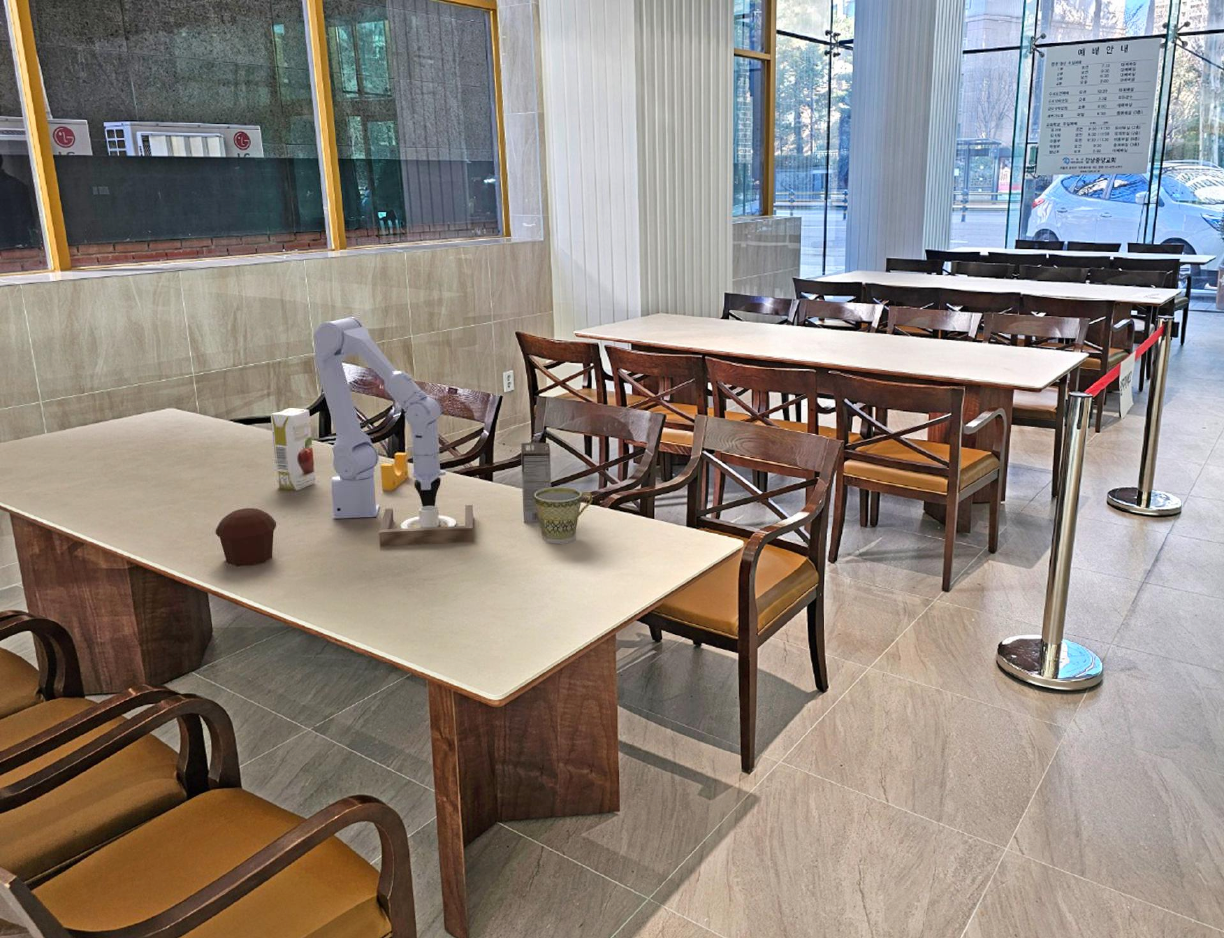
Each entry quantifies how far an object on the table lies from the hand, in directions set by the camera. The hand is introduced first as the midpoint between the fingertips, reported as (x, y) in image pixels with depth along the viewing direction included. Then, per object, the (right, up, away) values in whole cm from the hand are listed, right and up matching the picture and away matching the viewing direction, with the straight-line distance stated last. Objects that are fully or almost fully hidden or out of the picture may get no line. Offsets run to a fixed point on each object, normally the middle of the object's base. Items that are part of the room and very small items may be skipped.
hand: (429, 511), depth 219 cm
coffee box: (+24, -1, +4) cm, 24 cm away
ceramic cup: (+31, -5, -10) cm, 33 cm away
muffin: (-32, -9, -21) cm, 39 cm away
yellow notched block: (-15, +6, +29) cm, 33 cm away
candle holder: (0, -4, -2) cm, 4 cm away
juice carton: (-38, +5, +27) cm, 47 cm away
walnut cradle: (+1, -4, -5) cm, 6 cm away
